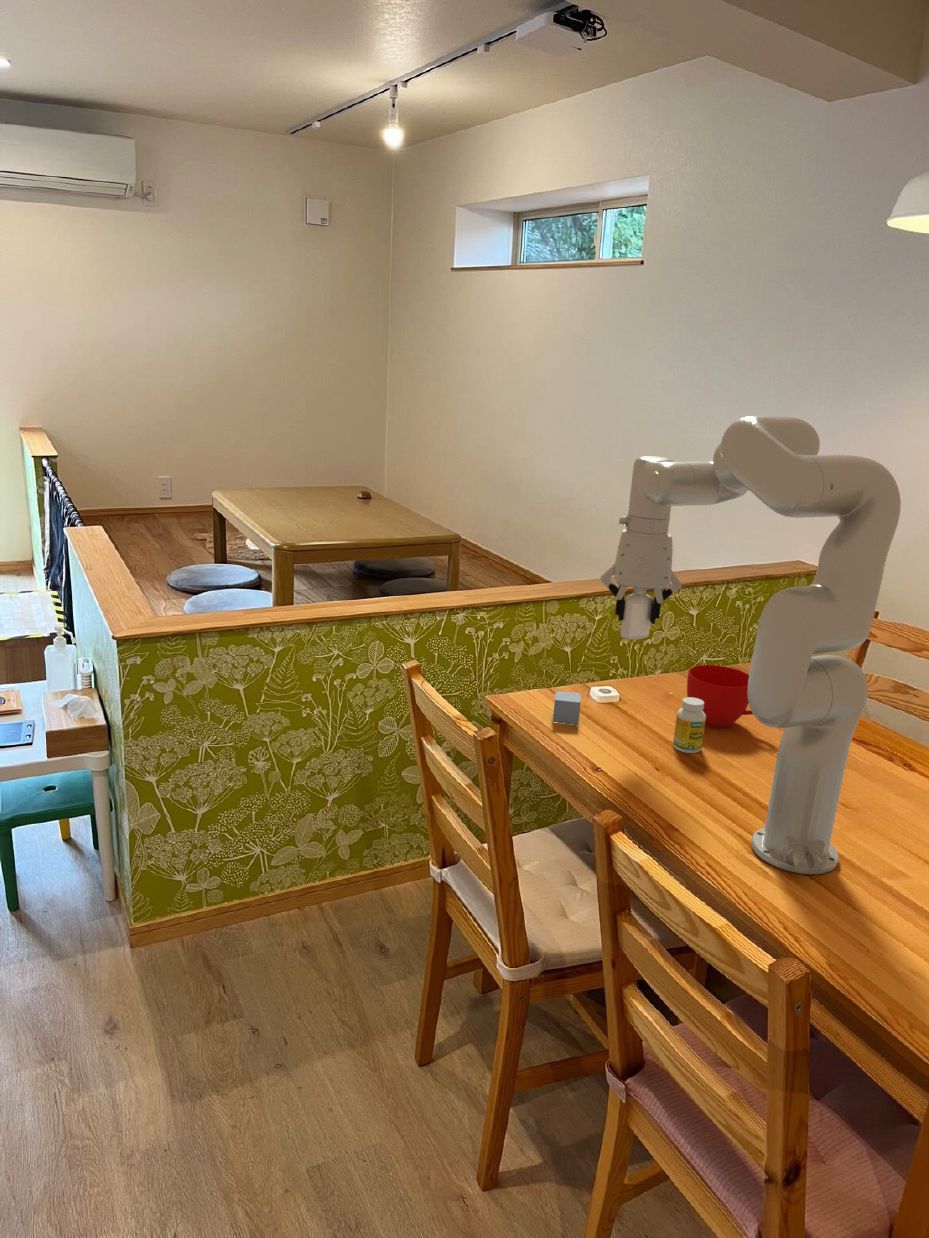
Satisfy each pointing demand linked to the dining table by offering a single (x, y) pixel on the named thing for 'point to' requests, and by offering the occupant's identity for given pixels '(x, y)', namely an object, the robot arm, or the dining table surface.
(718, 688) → the ceramic cup
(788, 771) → the robot arm
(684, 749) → the supplement bottle
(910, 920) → the dining table surface
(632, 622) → the eye dropper bottle
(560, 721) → the slate block
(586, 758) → the dining table surface
